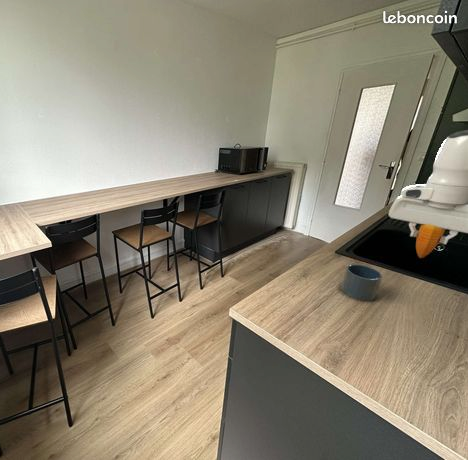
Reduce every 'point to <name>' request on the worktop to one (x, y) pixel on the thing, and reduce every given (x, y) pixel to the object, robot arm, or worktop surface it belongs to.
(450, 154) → the robot arm
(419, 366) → the worktop surface
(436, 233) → the carrot
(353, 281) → the tumbler
